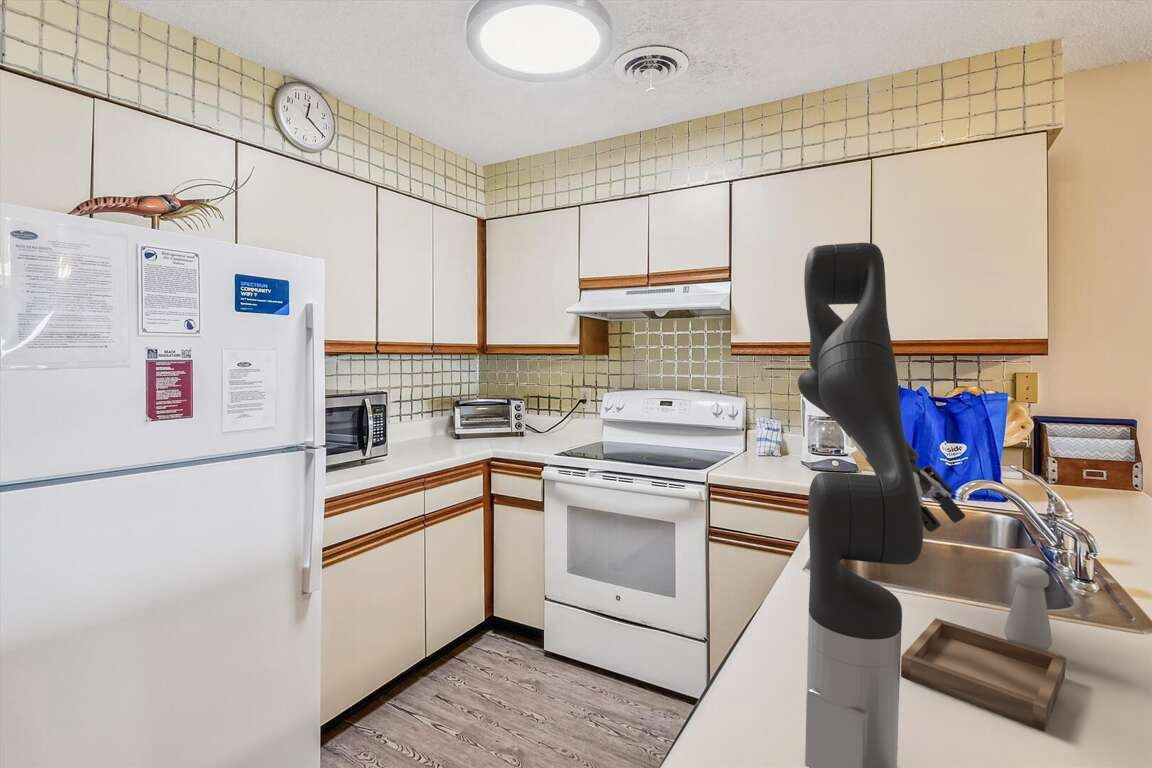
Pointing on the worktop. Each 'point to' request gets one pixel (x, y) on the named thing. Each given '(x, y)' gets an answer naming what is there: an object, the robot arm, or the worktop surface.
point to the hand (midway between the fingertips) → (948, 524)
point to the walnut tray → (986, 671)
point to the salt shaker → (1029, 609)
